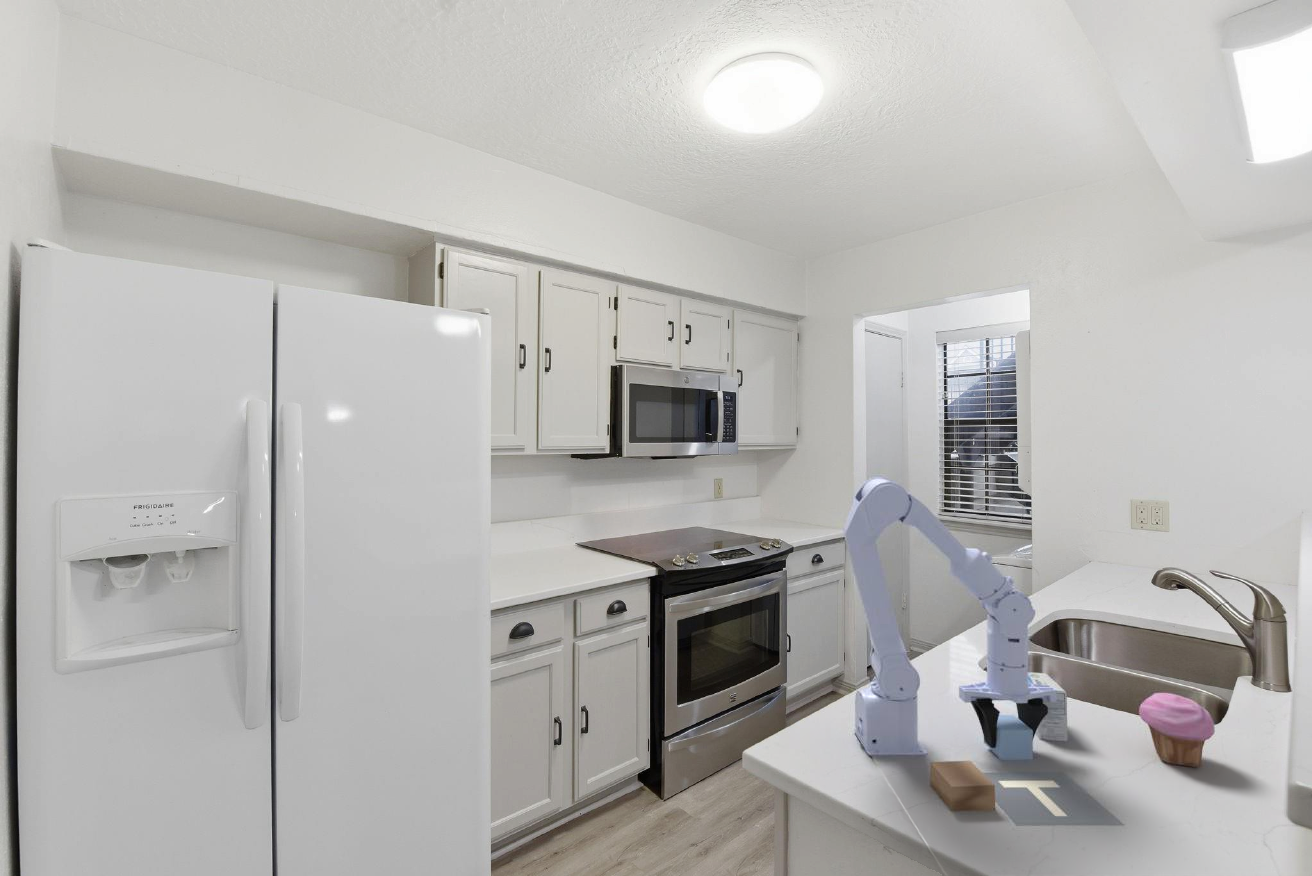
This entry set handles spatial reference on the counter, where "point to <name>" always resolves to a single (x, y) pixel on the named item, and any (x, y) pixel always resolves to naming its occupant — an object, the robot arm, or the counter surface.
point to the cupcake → (1177, 727)
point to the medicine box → (1052, 710)
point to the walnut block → (962, 786)
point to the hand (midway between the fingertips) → (1007, 744)
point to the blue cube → (1012, 739)
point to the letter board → (1047, 800)
